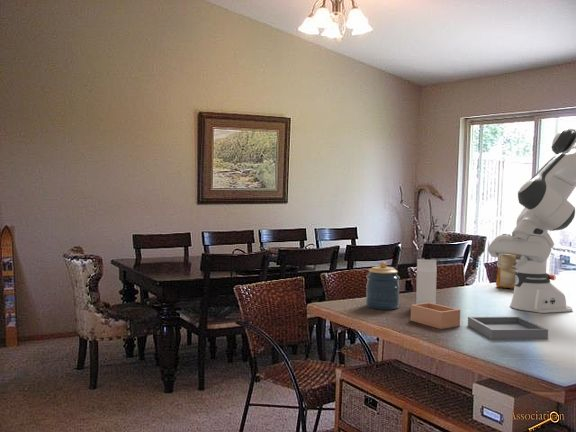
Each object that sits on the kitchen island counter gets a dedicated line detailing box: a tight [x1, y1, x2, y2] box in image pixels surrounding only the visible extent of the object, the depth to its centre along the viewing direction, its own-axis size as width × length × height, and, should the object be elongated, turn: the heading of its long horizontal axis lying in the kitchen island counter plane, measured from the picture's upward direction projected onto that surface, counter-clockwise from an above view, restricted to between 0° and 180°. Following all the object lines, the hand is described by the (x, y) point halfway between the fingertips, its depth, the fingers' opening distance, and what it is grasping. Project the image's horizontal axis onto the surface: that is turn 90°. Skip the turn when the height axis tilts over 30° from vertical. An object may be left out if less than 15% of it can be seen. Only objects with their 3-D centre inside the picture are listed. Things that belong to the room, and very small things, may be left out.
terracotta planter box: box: [410, 303, 461, 330], centre depth 193 cm, size 9×14×6 cm, turn 32°
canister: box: [365, 261, 401, 311], centre depth 220 cm, size 13×13×18 cm
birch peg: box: [500, 254, 516, 287], centre depth 181 cm, size 4×4×10 cm
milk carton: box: [415, 258, 438, 304], centre depth 217 cm, size 7×7×19 cm
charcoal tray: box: [467, 316, 549, 341], centre depth 182 cm, size 18×18×3 cm
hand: (506, 267), depth 181 cm, fingers closed on birch peg, 4 cm apart
